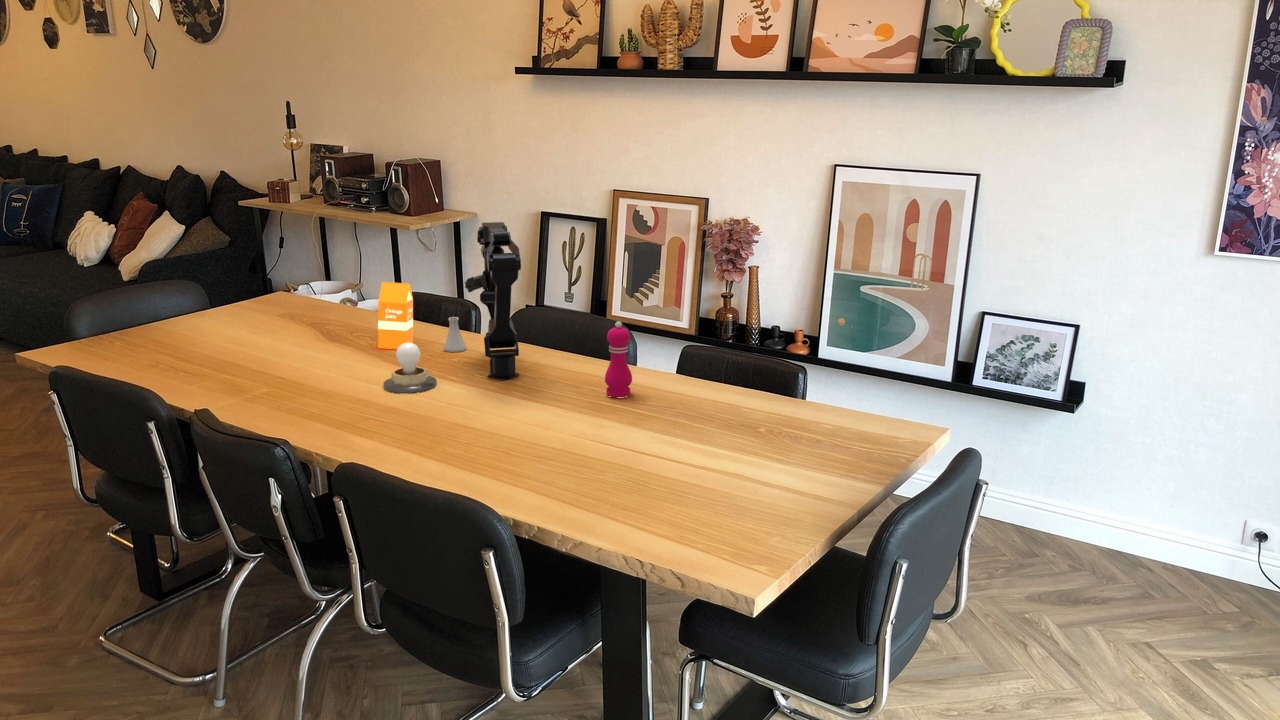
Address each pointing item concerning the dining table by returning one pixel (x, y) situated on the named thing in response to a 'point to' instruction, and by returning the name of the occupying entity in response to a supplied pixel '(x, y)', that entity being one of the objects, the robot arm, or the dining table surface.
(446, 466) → the dining table surface
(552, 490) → the dining table surface
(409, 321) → the orange juice
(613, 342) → the pepper mill
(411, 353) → the lightbulb
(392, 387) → the holder
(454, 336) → the flask
